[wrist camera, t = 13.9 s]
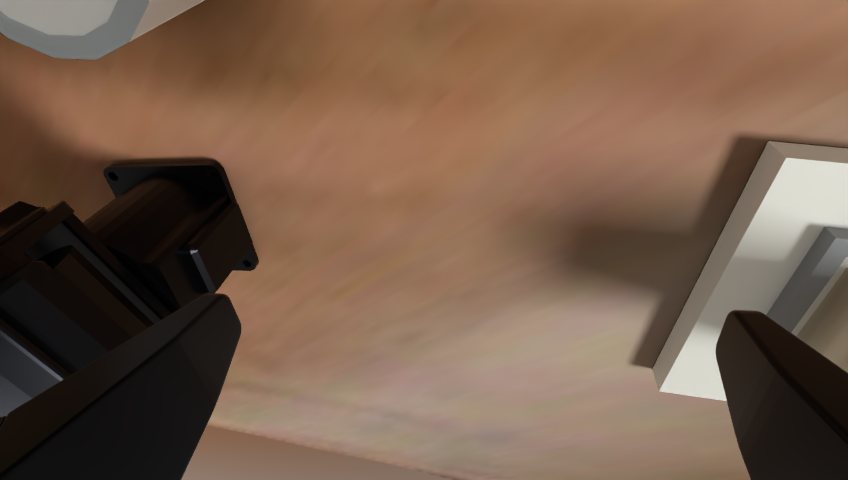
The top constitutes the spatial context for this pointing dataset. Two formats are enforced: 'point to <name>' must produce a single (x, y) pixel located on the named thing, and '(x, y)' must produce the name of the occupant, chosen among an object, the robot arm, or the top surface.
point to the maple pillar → (830, 324)
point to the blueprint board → (764, 260)
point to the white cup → (84, 23)
